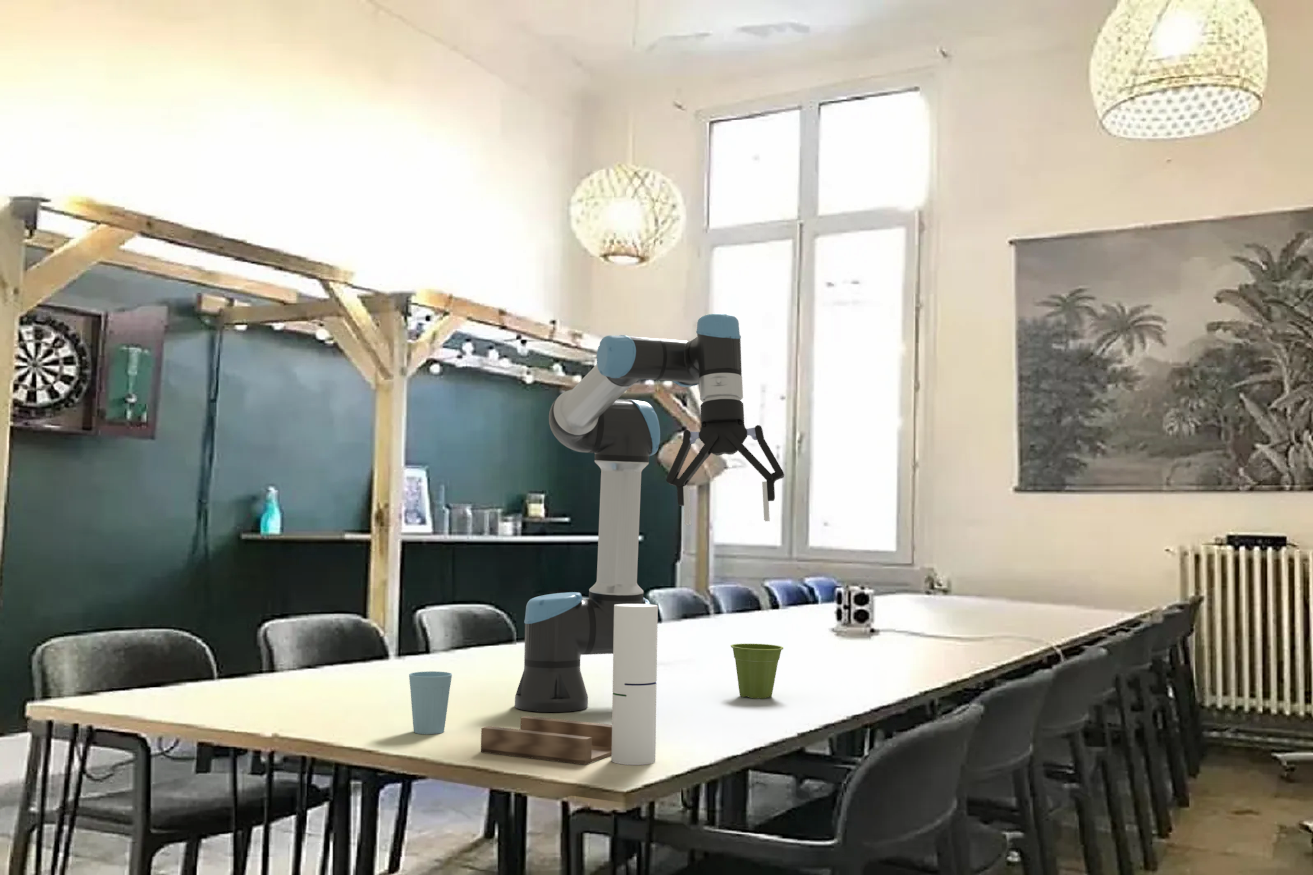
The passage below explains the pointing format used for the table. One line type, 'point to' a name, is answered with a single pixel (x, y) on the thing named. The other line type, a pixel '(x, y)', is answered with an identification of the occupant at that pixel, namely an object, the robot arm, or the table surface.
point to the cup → (429, 700)
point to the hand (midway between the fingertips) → (727, 522)
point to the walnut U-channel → (550, 740)
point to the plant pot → (756, 668)
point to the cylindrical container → (634, 684)
